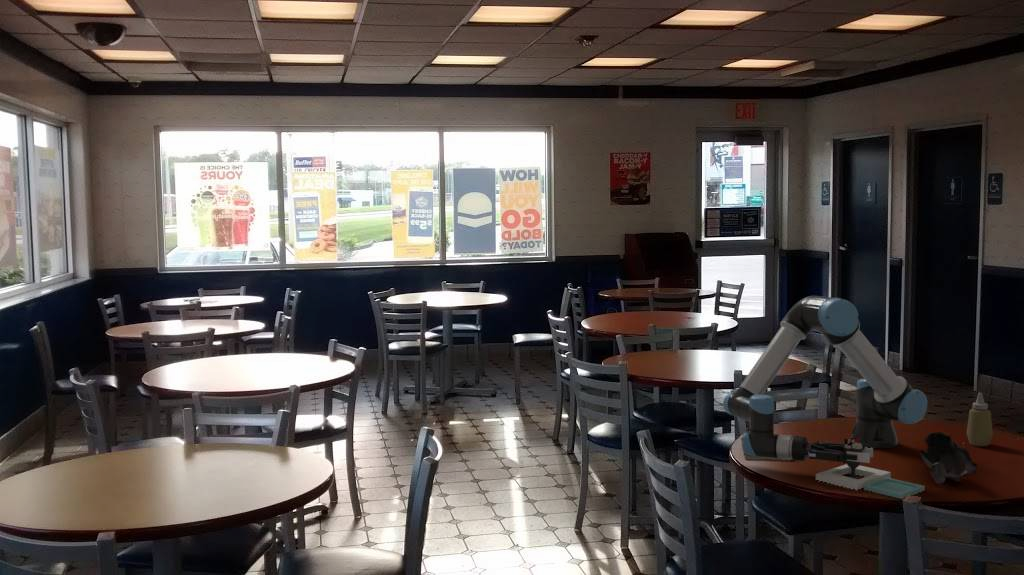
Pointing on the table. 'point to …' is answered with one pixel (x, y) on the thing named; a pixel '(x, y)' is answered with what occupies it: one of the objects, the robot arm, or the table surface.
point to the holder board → (836, 478)
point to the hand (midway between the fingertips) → (871, 455)
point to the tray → (894, 488)
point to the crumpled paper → (946, 458)
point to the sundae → (853, 446)
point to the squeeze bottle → (979, 423)
